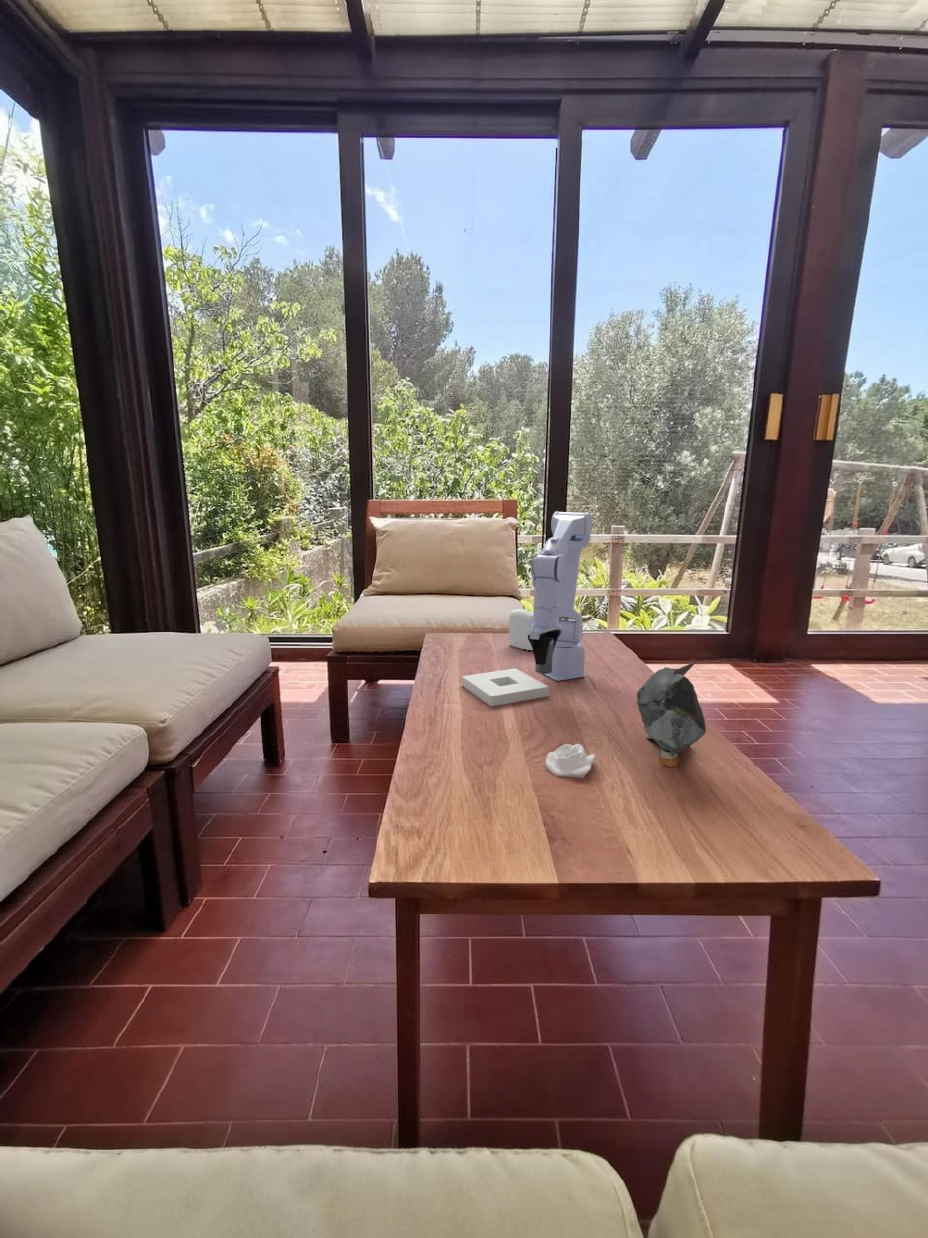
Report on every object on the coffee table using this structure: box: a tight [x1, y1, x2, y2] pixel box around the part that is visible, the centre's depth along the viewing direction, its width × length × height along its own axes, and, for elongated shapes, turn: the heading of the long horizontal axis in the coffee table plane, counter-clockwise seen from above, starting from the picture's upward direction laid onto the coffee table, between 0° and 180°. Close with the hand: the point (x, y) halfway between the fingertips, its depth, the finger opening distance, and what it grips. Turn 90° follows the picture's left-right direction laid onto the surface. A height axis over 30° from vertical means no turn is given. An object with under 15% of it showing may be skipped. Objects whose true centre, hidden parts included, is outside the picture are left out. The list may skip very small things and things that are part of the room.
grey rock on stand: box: [636, 660, 707, 768], centre depth 112 cm, size 14×15×18 cm
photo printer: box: [508, 608, 533, 651], centre depth 187 cm, size 10×4×12 cm, turn 39°
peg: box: [534, 639, 554, 675], centre depth 142 cm, size 4×4×8 cm
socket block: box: [461, 668, 550, 707], centre depth 149 cm, size 16×16×2 cm
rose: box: [545, 743, 597, 779], centre depth 110 cm, size 10×4×10 cm
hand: (543, 661), depth 143 cm, fingers closed on peg, 4 cm apart
